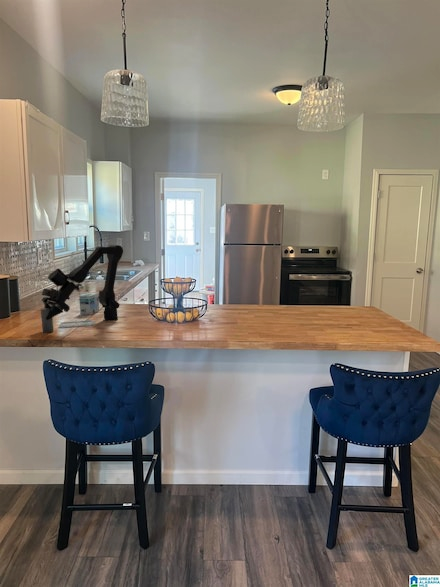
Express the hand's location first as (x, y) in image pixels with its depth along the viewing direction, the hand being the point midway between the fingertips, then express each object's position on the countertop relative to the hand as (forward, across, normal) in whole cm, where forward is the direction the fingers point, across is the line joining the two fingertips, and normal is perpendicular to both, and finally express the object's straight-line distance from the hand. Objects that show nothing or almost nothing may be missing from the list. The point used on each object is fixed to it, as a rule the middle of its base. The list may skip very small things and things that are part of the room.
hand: (44, 318), depth 195 cm
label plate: (-8, -3, +17) cm, 19 cm away
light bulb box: (-21, -25, +31) cm, 45 cm away
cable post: (+4, 0, +6) cm, 7 cm away
